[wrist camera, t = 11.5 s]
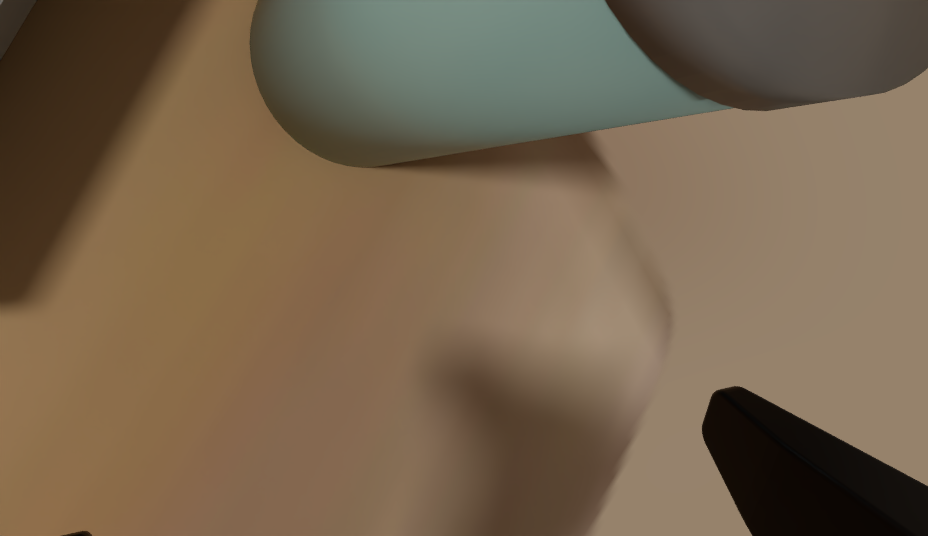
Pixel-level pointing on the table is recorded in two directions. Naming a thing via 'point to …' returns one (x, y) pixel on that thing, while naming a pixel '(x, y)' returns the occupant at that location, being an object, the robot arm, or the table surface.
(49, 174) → the table surface
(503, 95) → the canister
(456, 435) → the table surface
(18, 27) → the grey square tray
